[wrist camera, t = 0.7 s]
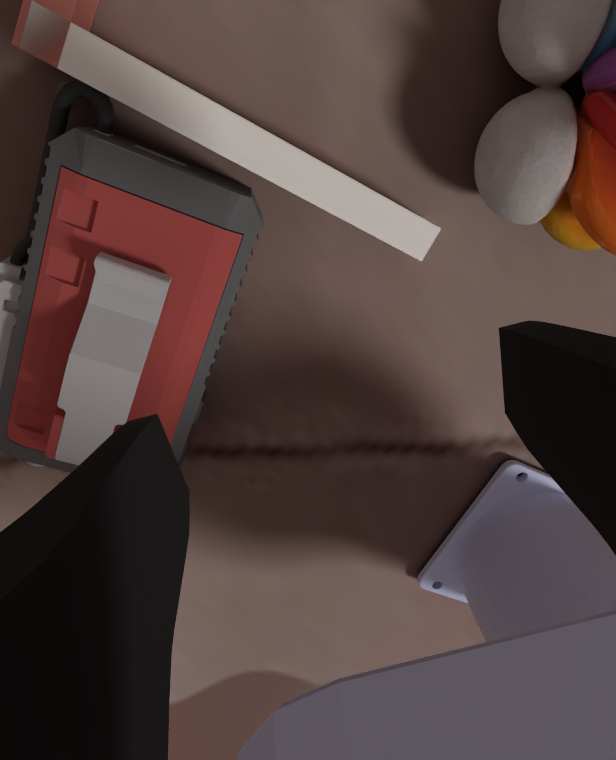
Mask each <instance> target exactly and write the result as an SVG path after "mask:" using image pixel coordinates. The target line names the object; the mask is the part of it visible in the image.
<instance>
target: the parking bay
mask: <svg viewBox="0 0 616 760" xmlns="http://www.w3.org/2000/svg"><path fill="white" fill-rule="evenodd" d="M99 1H100V0H23V2H22V5H21V9H20V13H19V17H18V20H17V24H16V28H15V32H14V36H13V39H12V43H11V44H12V45H14V46H16V47H18V48H20V49H22V50H23V51H25V52H27V53H29V54H31V55H33V56H35V57H37V58H39V59H40V60H42V61H44V62H46V63H48V64H50V65H52V66H54V67H56V68H57V69H59V70H61V71H63V72H65V73H67V74H69V75H71V76H73V77H74V78H76V79H78V80H80V81H82V82H84V83H86V84H88V85H90V86H91V87H93V88H95V89H97V90H99V91H101V92H103V93H105V94H106V95H108V96H110V97H112V98H114V99H116V100H118V101H120V102H122V103H123V104H125V105H127V106H129V107H131V108H133V109H135V110H137V111H139V112H140V113H142V114H144V115H146V116H148V117H150V118H152V119H154V120H156V121H157V122H159V123H161V124H163V125H165V126H167V127H169V128H171V129H173V130H174V131H176V132H178V133H180V134H182V135H184V136H186V137H188V138H190V139H191V140H193V141H195V142H197V143H199V144H201V145H203V146H205V147H207V148H208V149H210V150H212V151H214V152H216V153H218V154H220V155H222V156H224V157H225V158H227V159H229V160H231V161H233V162H235V163H237V164H239V165H241V166H242V167H244V168H246V169H248V170H250V171H252V172H254V173H256V174H257V175H259V176H261V177H263V178H265V179H267V180H269V181H271V182H273V183H274V184H276V185H278V186H280V187H282V188H284V189H286V190H288V191H290V192H291V193H293V194H295V195H297V196H299V197H301V198H303V199H305V200H307V201H308V202H310V203H312V204H314V205H316V206H318V207H320V208H322V209H324V210H325V211H327V212H329V213H331V214H333V215H335V216H337V217H339V218H341V219H342V220H344V221H346V222H348V223H350V224H352V225H354V226H356V227H358V228H359V229H361V230H363V231H365V232H367V233H369V234H371V235H373V236H375V237H376V238H378V239H380V240H382V241H384V242H386V243H388V244H390V245H392V246H393V247H395V248H397V249H399V250H401V251H403V252H405V253H407V254H408V255H410V256H412V257H414V258H416V259H418V260H420V261H422V260H423V258H424V257H425V255H426V253H427V252H428V250H429V248H430V247H431V245H432V243H433V242H434V240H435V238H436V237H437V235H438V233H439V231H440V230H441V228H439V227H438V226H436V225H434V224H433V223H431V222H429V221H427V220H426V219H424V218H422V217H420V216H419V215H417V214H415V213H413V212H411V211H410V210H408V209H406V208H404V207H402V206H401V205H399V204H397V203H395V202H394V201H392V200H390V199H388V198H386V197H385V196H383V195H381V194H379V193H377V192H376V191H374V190H372V189H370V188H368V187H367V186H365V185H363V184H361V183H359V182H358V181H356V180H354V179H352V178H351V177H349V176H347V175H345V174H343V173H342V172H340V171H338V170H336V169H334V168H333V167H331V166H329V165H327V164H325V163H324V162H322V161H320V160H318V159H316V158H315V157H313V156H311V155H309V154H307V153H306V152H304V151H302V150H300V149H299V148H297V147H295V146H293V145H291V144H290V143H288V142H286V141H284V140H282V139H281V138H279V137H277V136H275V135H273V134H272V133H270V132H268V131H266V130H264V129H263V128H261V127H259V126H257V125H255V124H254V123H252V122H250V121H248V120H247V119H245V118H243V117H241V116H239V115H238V114H236V113H234V112H232V111H230V110H229V109H227V108H225V107H223V106H221V105H220V104H218V103H216V102H214V101H212V100H211V99H209V98H207V97H205V96H203V95H202V94H200V93H198V92H196V91H195V90H193V89H191V88H189V87H187V86H186V85H184V84H182V83H180V82H178V81H177V80H175V79H173V78H171V77H169V76H168V75H166V74H164V73H162V72H160V71H159V70H157V69H155V68H153V67H151V66H150V65H148V64H146V63H144V62H143V61H141V60H139V59H137V58H135V57H134V56H132V55H130V54H128V53H126V52H125V51H123V50H121V49H119V48H117V47H116V46H114V45H112V44H110V43H108V42H107V41H105V40H103V39H101V38H99V37H98V36H96V35H94V34H92V33H91V32H90V30H91V27H92V24H93V20H94V17H95V14H96V11H97V7H98V4H99Z"/></svg>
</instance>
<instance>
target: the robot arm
mask: <svg viewBox="0 0 616 760" xmlns="http://www.w3.org/2000/svg"><path fill="white" fill-rule="evenodd" d="M499 335H500V349H501V363H502V377H503V391H504V405H505V413H506V415H507V417H508V419H509V420H510V422H511V424H512V425H513V427H514V429H515V430H516V432H517V434H518V435H519V437H520V438H521V440H522V441H523V443H524V444H525V446H526V447H527V449H528V450H529V451H530V453H531V454H532V455H533V456H534V457H535V459H536V460H537V461H538V462H539V463H540V465H541V466H542V467H543V468H544V469H545V470H546V472H547V473H548V474H547V473H544V472H542V471H540V470H537V469H535V468H533V467H530V466H528V465H526V464H523V463H521V462H519V461H516V460H508V461H506V462H504V463H503V464H502V465H501V466H500V468H499V469H498V470H497V472H496V473H495V474H494V476H493V477H492V478H491V480H490V481H489V482H488V483H487V485H486V486H485V487H484V489H483V490H482V491H481V493H480V494H479V495H478V497H477V498H476V499H475V501H474V502H473V503H472V505H471V506H470V507H469V509H468V510H467V511H466V513H465V514H464V515H463V517H462V518H461V519H460V520H459V522H458V523H457V524H456V526H455V527H454V528H453V530H452V531H451V532H450V534H449V535H448V536H447V538H446V539H445V540H444V542H443V543H442V544H441V546H440V547H439V548H438V550H437V551H436V552H435V553H434V555H433V556H432V557H431V559H430V560H429V561H428V563H427V564H426V565H425V567H424V568H423V569H422V571H421V572H420V573H419V575H418V577H417V581H418V584H419V586H420V587H421V588H423V589H425V590H428V591H431V592H434V593H437V594H441V595H444V596H447V597H450V598H453V599H456V600H459V601H462V602H465V603H468V604H469V606H470V608H471V610H472V612H473V614H474V617H475V619H476V621H477V623H478V625H479V627H480V630H481V632H482V634H483V636H484V638H485V640H486V642H485V643H481V644H477V645H473V646H469V647H465V648H461V649H457V650H453V651H449V652H445V653H441V654H437V655H433V656H428V657H424V658H420V659H416V660H412V661H408V662H404V663H400V664H396V665H392V666H388V667H384V668H380V669H376V670H372V671H368V672H364V673H360V674H356V675H352V676H348V677H344V678H340V679H337V680H335V681H332V682H330V683H328V684H326V685H323V686H321V687H319V688H317V689H315V690H312V691H310V692H308V693H305V694H303V695H301V696H299V697H296V698H294V699H292V700H290V701H287V702H285V703H283V704H282V705H280V706H279V707H278V708H277V709H276V710H275V711H274V712H273V713H272V714H271V715H270V716H269V717H268V719H267V720H266V721H265V722H264V723H263V724H262V726H261V727H260V728H259V729H258V730H257V731H256V732H255V734H254V735H253V736H252V737H251V738H250V739H249V741H248V742H247V743H246V744H245V745H244V746H243V748H242V749H241V750H240V751H239V752H238V760H616V337H612V336H607V335H603V334H598V333H594V332H589V331H585V330H580V329H576V328H571V327H566V326H562V325H557V324H551V323H546V322H539V321H525V322H521V323H517V324H513V325H509V326H505V327H501V328H499ZM522 472H523V474H522V475H521V476H519V477H517V475H518V474H519V473H522ZM189 515H190V513H189V490H188V487H187V485H186V482H185V480H184V477H183V475H182V472H181V470H180V468H179V465H178V463H177V460H176V458H175V455H174V453H173V450H172V448H171V445H170V443H169V440H168V438H167V436H166V433H165V431H164V428H163V426H162V423H161V421H160V418H159V416H158V414H154V415H150V416H146V417H142V418H138V419H134V420H130V421H128V422H127V423H125V424H124V425H122V426H121V427H120V428H119V429H117V430H116V431H115V432H114V433H113V434H112V435H111V436H110V437H109V438H107V439H106V440H105V441H104V442H103V443H102V444H101V445H100V446H99V447H98V448H97V449H96V450H95V451H94V452H93V453H92V454H91V455H89V456H88V457H87V458H86V459H85V460H84V461H83V462H82V463H81V464H80V465H79V466H78V467H77V468H76V469H75V470H74V471H73V472H72V473H70V474H69V475H68V476H67V477H66V478H65V479H64V480H63V481H62V482H60V483H59V484H58V485H57V486H56V487H55V488H54V489H52V490H51V491H50V492H49V493H48V494H47V495H46V496H44V497H43V498H42V499H41V500H40V501H39V502H38V503H36V504H35V505H34V506H33V507H32V508H31V509H29V510H28V511H27V512H26V513H25V514H23V515H22V516H21V517H20V518H18V519H17V520H16V521H14V522H13V523H12V524H11V525H9V526H8V527H7V528H5V529H4V530H3V531H1V532H0V760H168V729H169V696H170V674H171V654H172V644H173V635H174V627H175V621H176V615H177V609H178V602H179V596H180V590H181V584H182V577H183V571H184V565H185V558H186V551H187V545H188V537H189ZM437 581H438V582H437ZM435 582H437V583H435Z"/></svg>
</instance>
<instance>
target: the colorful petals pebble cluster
mask: <svg viewBox="0 0 616 760" xmlns="http://www.w3.org/2000/svg"><path fill="white" fill-rule="evenodd" d="M498 33H499V40H500V44H501V47H502V50H503V53H504V55H505V57H506V59H507V61H508V62H509V64H510V65H511V67H512V68H513V69H514V70H515V71H516V72H517V73H518V74H519V75H520V76H521V77H523V78H524V79H526V80H527V81H529V82H531V83H533V84H535V85H536V89H534V90H533V91H531V92H529V93H526V94H522V95H520V96H518V97H517V98H515V99H513V100H511V101H510V102H508V103H507V104H506V105H505V106H503V107H502V108H501V109H500V110H499V111H498V112H497V113H496V114H495V115H494V116H493V117H492V119H491V120H490V121H489V123H488V124H487V126H486V127H485V129H484V131H483V133H482V135H481V137H480V140H479V143H478V145H477V149H476V154H475V163H474V175H475V181H476V185H477V188H478V190H479V193H480V195H481V197H482V198H483V200H484V201H485V203H486V204H487V205H488V206H489V208H490V209H491V210H492V211H494V212H495V213H496V214H497V215H499V216H500V217H502V218H504V219H506V220H508V221H510V222H513V223H516V224H520V225H531V224H535V223H536V222H538V221H539V220H540V221H541V224H542V225H543V227H544V229H545V230H546V231H547V232H548V234H549V235H550V236H551V237H553V238H554V239H555V240H556V241H558V242H559V243H561V244H563V245H565V246H567V247H569V248H572V249H577V250H593V249H598V248H604V249H605V250H607V251H608V252H610V253H612V254H614V255H616V0H501V3H500V8H499V15H498ZM573 75H575V76H581V77H582V85H583V88H584V90H585V92H586V94H585V97H584V99H583V100H582V103H574V102H573V100H572V98H571V96H570V95H569V94H568V93H567V92H566V91H564V90H563V89H562V88H561V86H562V84H564V83H565V82H566V81H567V80H568V79H569V78H570V77H572V76H573Z"/></svg>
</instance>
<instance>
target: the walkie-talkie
mask: <svg viewBox="0 0 616 760" xmlns="http://www.w3.org/2000/svg"><path fill="white" fill-rule="evenodd" d="M82 95H84V96H86V97H87V98H89V99H90V100H92V101H93V102H94V103H95V105H96V106H97V108H98V123H97V126H88V127H76V128H73V129H71V130H70V131H68V132H66V133H65V131H66V126H67V121H68V116H69V112H70V110H71V107H72V105H73V104H74V102H75V101H76V100H77V99H78V98H79V97H80V96H82ZM113 123H114V110H113V105H112V103H111V101H110V99H109V97H108V96H107V95H106V94H105V93H103V92H101V91H99V90H97V89H95V88H93V87H91V86H90V85H88V84H86V83H84V82H82V81H78V80H76V81H73V82H70V83H67V84H66V85H65V86H64V87H63V88H62V89H61V90H60V92H59V94H58V96H57V97H56V99H55V101H54V103H53V106H52V111H51V116H50V122H49V127H48V132H47V137H46V142H45V147H44V152H43V157H42V162H41V167H40V172H39V178H38V183H37V188H36V193H35V198H34V203H33V208H32V213H31V218H30V222H29V226H28V231H27V233H26V236H25V237H24V239H23V240H22V241H21V242H20V243H19V244H18V245H17V246H16V247H15V249H14V251H13V253H12V255H11V256H9V257H8V258H6V259H4V260H3V261H1V262H0V450H1V451H2V452H4V453H6V454H8V455H9V456H11V457H13V458H15V459H19V460H23V461H27V463H28V464H29V465H31V466H34V467H45V466H47V467H51V468H55V469H59V470H63V471H67V472H73V471H74V470H75V469H76V468H77V467H78V466H79V465H80V464H81V463H82V462H83V461H84V460H85V459H86V458H87V457H88V456H89V455H91V454H92V453H93V452H94V451H95V450H96V449H97V448H98V447H99V446H100V445H101V444H102V443H103V442H104V441H105V440H106V439H107V438H109V437H110V436H111V435H112V434H113V433H114V432H115V431H116V430H117V429H119V428H120V427H121V426H122V425H124V424H125V423H127V422H128V421H130V420H134V419H138V418H142V417H146V416H150V415H154V414H158V416H159V418H160V421H161V423H162V426H163V428H164V431H165V433H166V436H167V438H168V440H169V443H170V445H171V448H172V450H173V453H174V455H175V458H176V460H177V463H178V465H182V462H183V459H184V456H185V454H186V451H187V448H188V443H189V437H190V433H189V432H190V429H191V426H192V424H193V423H195V422H197V421H198V418H199V415H200V412H201V409H202V407H203V404H204V400H205V393H206V390H205V387H206V383H207V377H208V376H210V373H211V367H212V363H214V362H215V359H216V351H217V349H219V348H220V345H221V336H222V335H224V334H225V331H226V321H229V320H230V317H231V307H232V306H235V303H236V293H237V291H240V289H241V286H242V276H246V273H247V261H248V260H251V259H252V256H253V252H252V247H253V245H254V244H257V242H258V230H259V228H263V220H262V214H261V211H260V209H259V207H258V204H257V202H256V199H255V197H254V195H253V192H252V190H251V188H249V187H246V186H244V185H242V184H239V183H237V182H234V181H232V180H229V179H227V178H224V177H222V176H219V175H217V174H214V173H212V172H209V171H207V170H204V169H202V168H199V167H197V166H194V165H192V164H189V163H187V162H184V161H182V160H179V159H177V158H174V157H172V156H169V155H167V154H165V153H162V152H160V151H157V150H155V149H152V148H150V147H147V146H145V145H142V144H140V143H137V142H135V141H132V140H130V139H127V138H125V137H122V136H120V135H117V134H115V133H112V128H113ZM28 254H29V259H27V258H28Z"/></svg>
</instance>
